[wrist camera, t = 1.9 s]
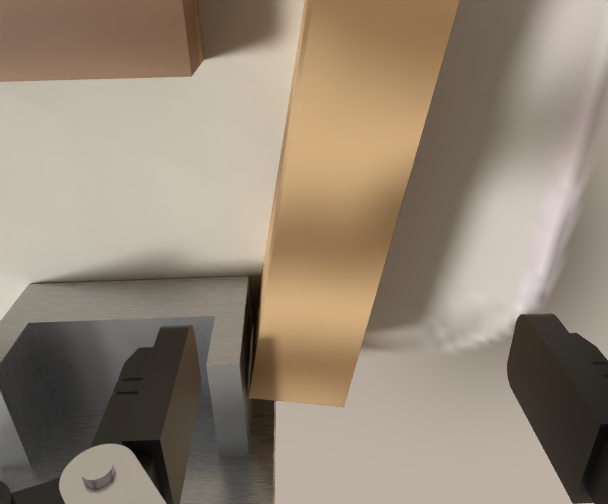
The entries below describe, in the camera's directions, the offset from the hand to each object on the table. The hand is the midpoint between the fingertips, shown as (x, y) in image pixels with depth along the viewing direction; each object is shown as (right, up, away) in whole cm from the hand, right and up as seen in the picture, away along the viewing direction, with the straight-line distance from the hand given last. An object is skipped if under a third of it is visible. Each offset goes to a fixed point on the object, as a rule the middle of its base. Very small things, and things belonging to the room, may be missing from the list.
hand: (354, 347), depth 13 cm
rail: (0, +5, +9) cm, 11 cm away
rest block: (-9, +11, +5) cm, 15 cm away
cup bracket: (-9, -2, +13) cm, 16 cm away
